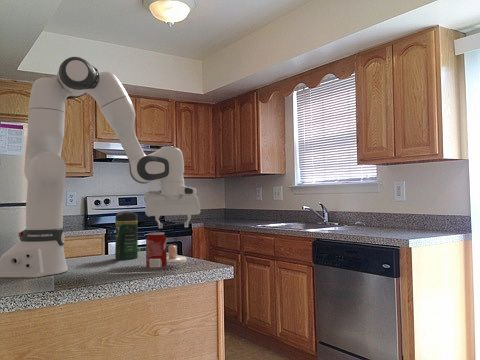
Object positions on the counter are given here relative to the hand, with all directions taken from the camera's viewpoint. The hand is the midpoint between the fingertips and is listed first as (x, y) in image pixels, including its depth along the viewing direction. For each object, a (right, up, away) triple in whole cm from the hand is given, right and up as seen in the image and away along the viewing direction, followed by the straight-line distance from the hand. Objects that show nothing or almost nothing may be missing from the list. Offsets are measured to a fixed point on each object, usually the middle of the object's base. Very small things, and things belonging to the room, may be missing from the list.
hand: (173, 227), depth 157 cm
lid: (0, -12, 0) cm, 12 cm away
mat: (0, -13, -1) cm, 13 cm away
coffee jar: (-19, -13, +7) cm, 25 cm away
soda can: (-4, -13, -14) cm, 19 cm away
